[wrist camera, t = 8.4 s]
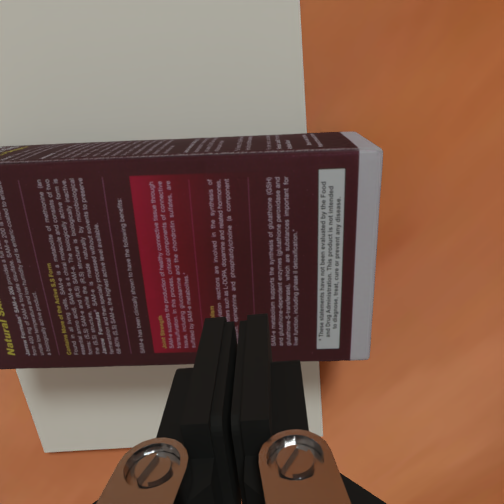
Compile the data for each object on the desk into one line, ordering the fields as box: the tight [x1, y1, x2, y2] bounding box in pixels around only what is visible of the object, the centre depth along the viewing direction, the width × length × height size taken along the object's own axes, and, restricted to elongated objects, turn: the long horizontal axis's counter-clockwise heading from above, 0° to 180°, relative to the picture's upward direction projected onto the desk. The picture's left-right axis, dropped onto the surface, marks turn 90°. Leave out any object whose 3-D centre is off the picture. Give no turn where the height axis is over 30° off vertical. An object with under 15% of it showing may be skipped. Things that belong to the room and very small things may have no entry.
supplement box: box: [0, 132, 383, 369], centre depth 19 cm, size 9×5×16 cm
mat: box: [0, 0, 323, 453], centre depth 22 cm, size 16×24×1 cm, turn 6°
